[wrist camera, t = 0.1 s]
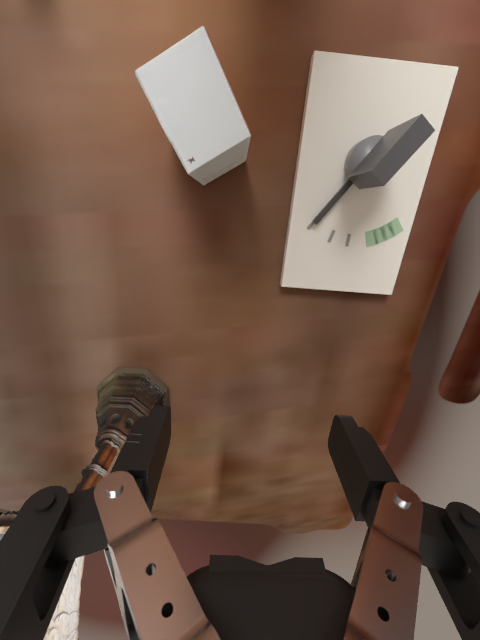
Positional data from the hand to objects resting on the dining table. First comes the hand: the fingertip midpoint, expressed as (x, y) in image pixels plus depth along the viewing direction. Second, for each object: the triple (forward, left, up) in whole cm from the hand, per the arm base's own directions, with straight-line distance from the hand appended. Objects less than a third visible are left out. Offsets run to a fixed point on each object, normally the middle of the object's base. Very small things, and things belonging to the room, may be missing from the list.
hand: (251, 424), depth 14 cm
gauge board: (-13, +14, -29) cm, 35 cm away
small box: (-17, -5, -29) cm, 34 cm away
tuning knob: (-13, +12, -27) cm, 33 cm away
